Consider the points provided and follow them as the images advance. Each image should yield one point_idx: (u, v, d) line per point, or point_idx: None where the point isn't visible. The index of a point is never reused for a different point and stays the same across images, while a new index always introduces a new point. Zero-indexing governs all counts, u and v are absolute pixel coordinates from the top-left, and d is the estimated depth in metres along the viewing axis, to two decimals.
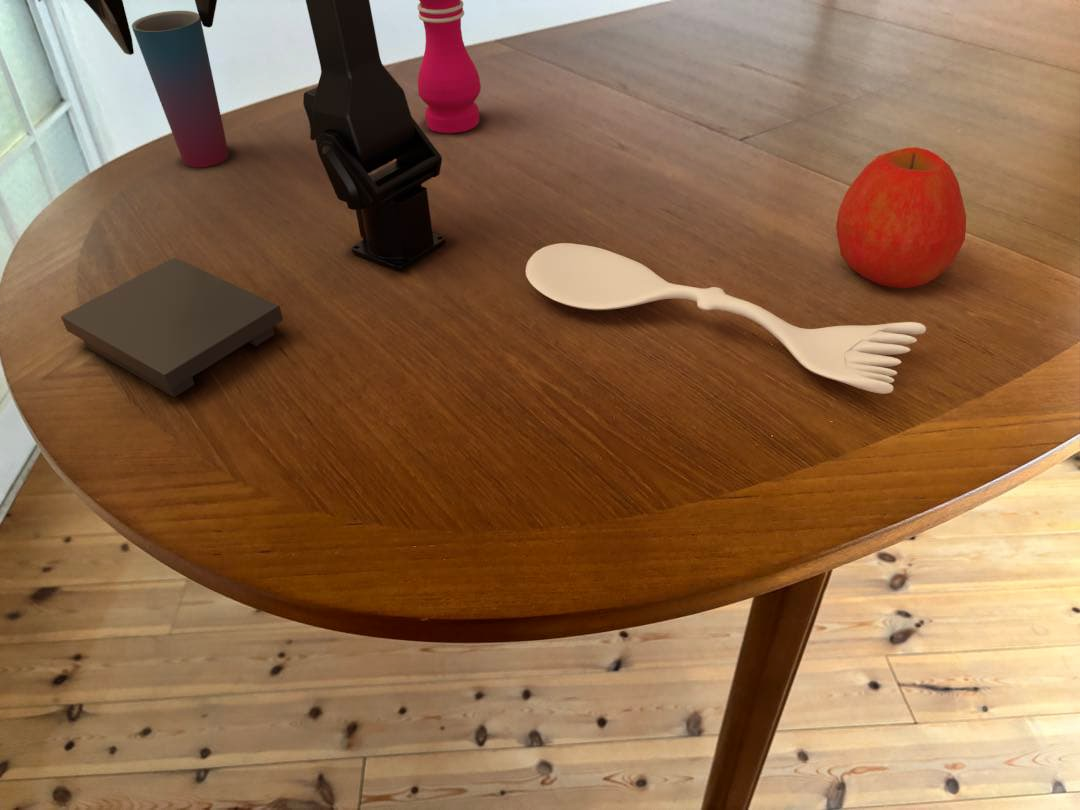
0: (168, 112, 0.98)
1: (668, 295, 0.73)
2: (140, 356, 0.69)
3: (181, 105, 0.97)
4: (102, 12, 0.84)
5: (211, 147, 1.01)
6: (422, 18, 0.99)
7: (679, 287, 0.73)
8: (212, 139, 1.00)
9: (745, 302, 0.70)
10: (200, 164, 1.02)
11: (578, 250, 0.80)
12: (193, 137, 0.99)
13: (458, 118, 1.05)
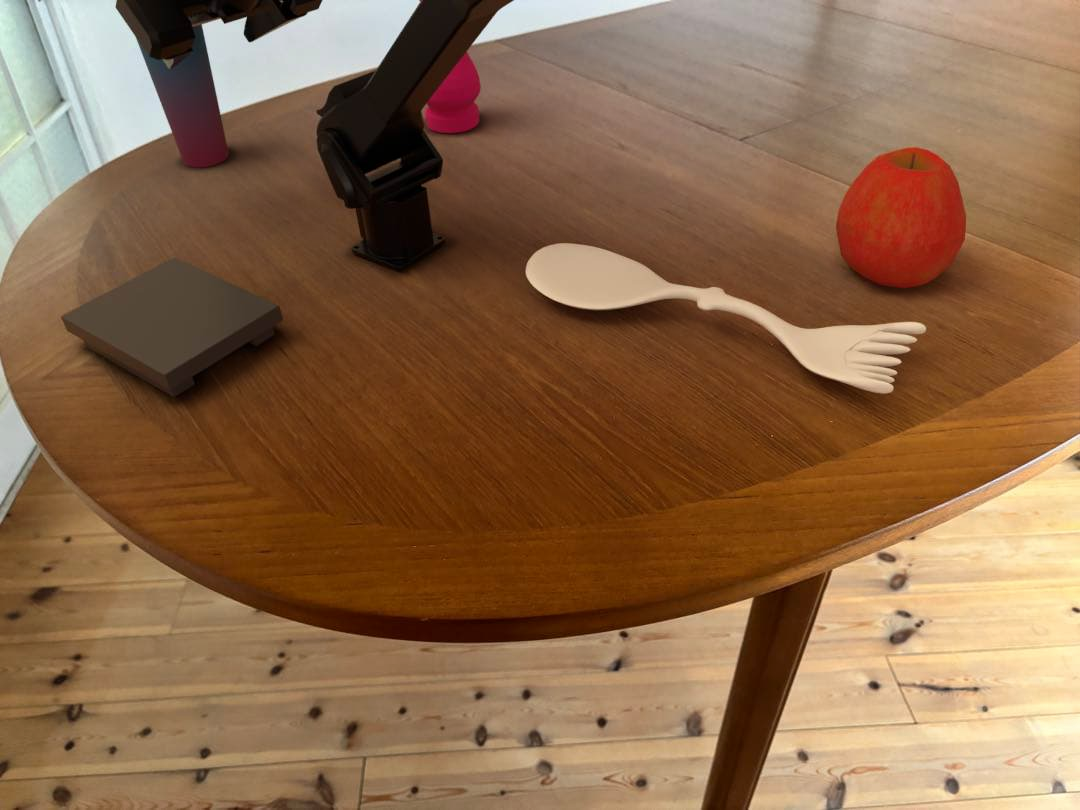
0: (168, 112, 0.98)
1: (668, 295, 0.73)
2: (140, 356, 0.69)
3: (181, 105, 0.97)
4: None
5: (211, 147, 1.01)
6: None
7: (679, 287, 0.73)
8: (212, 139, 1.00)
9: (745, 302, 0.70)
10: (200, 164, 1.02)
11: (578, 250, 0.80)
12: (193, 137, 0.99)
13: (458, 118, 1.05)
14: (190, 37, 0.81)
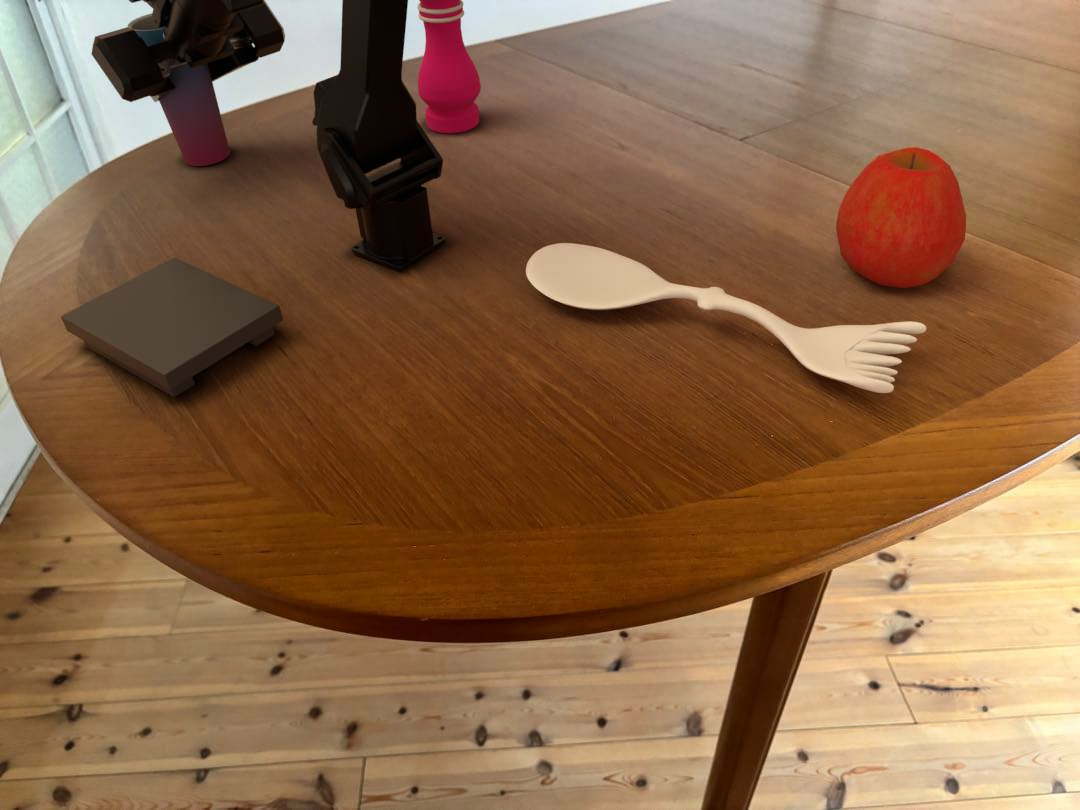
0: (167, 111, 0.98)
1: (668, 295, 0.73)
2: (140, 356, 0.69)
3: (180, 104, 0.97)
4: None
5: (211, 145, 1.01)
6: (422, 18, 0.99)
7: (679, 287, 0.73)
8: (212, 137, 1.00)
9: (745, 302, 0.70)
10: (201, 163, 1.02)
11: (578, 250, 0.80)
12: (193, 135, 0.99)
13: (458, 118, 1.05)
14: (159, 81, 0.89)
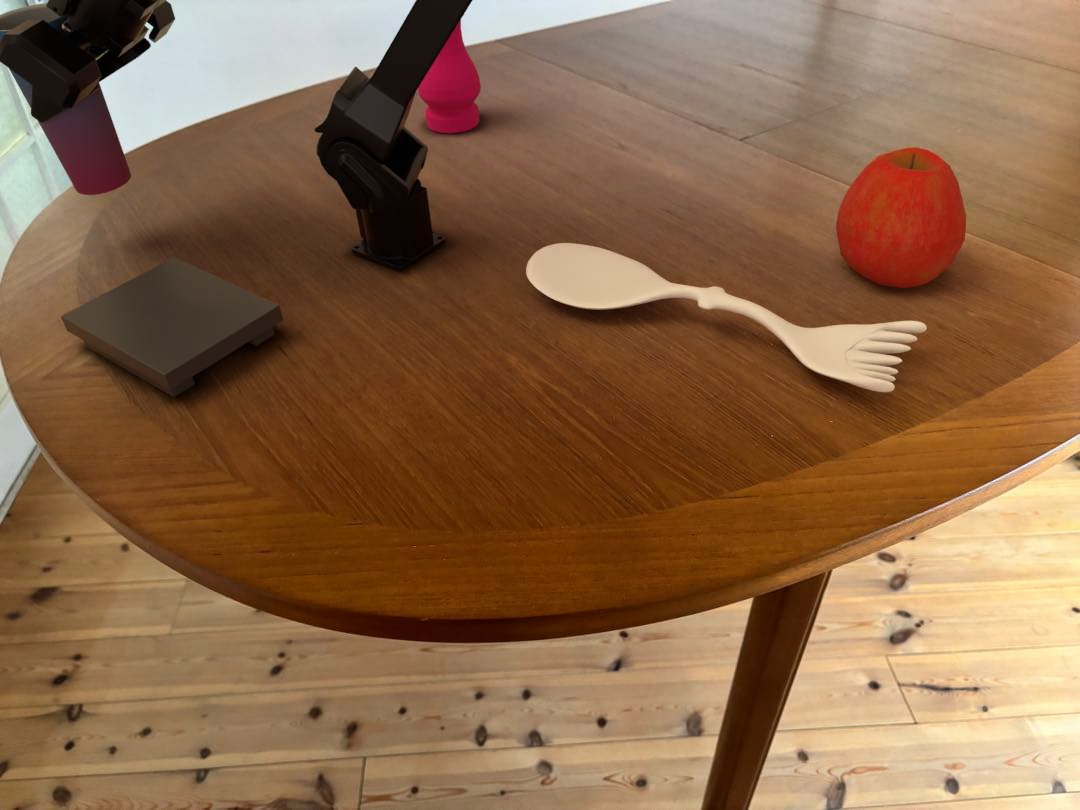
0: (62, 131, 0.79)
1: (669, 294, 0.73)
2: (140, 356, 0.69)
3: (80, 115, 0.79)
4: None
5: (119, 162, 0.83)
6: None
7: (680, 286, 0.73)
8: (117, 152, 0.83)
9: (746, 301, 0.70)
10: (111, 187, 0.83)
11: (578, 250, 0.80)
12: (99, 153, 0.81)
13: (458, 118, 1.05)
14: (97, 76, 0.72)
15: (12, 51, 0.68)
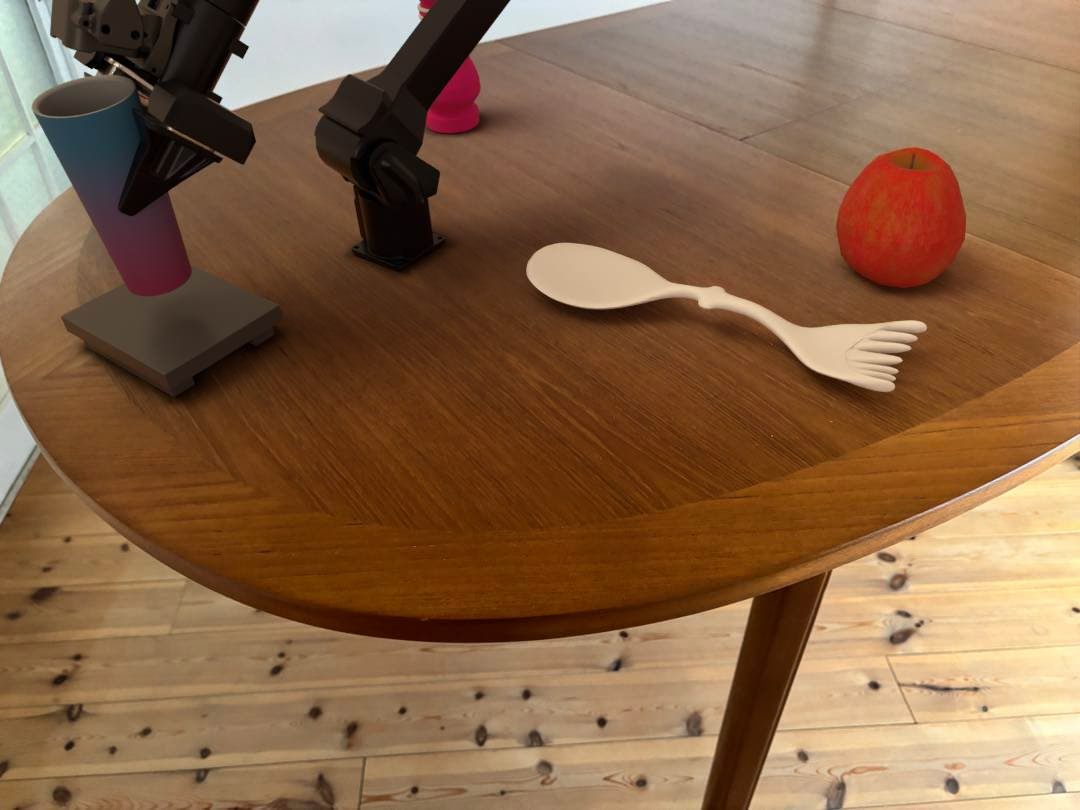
0: (149, 220, 0.67)
1: (669, 294, 0.73)
2: (140, 356, 0.69)
3: (163, 196, 0.67)
4: (154, 166, 0.63)
5: (183, 245, 0.72)
6: (422, 18, 0.99)
7: (680, 286, 0.73)
8: None
9: (746, 301, 0.70)
10: (188, 274, 0.72)
11: (579, 250, 0.80)
12: (178, 237, 0.70)
13: (458, 118, 1.05)
14: None
15: (192, 113, 0.58)
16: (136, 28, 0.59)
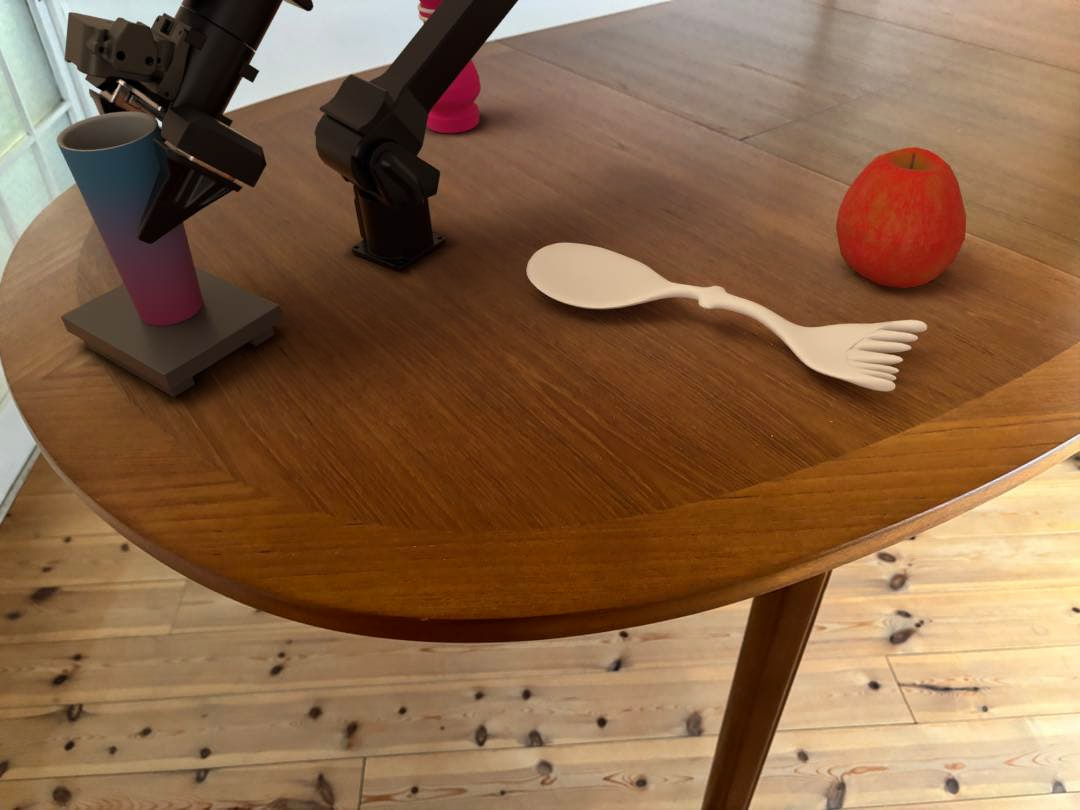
0: (165, 251, 0.69)
1: (669, 294, 0.73)
2: (140, 356, 0.69)
3: (179, 228, 0.69)
4: (174, 195, 0.64)
5: None
6: (422, 18, 0.99)
7: (680, 286, 0.73)
8: None
9: (746, 301, 0.70)
10: (200, 304, 0.74)
11: (579, 249, 0.80)
12: (191, 268, 0.72)
13: (458, 118, 1.05)
14: None
15: (205, 138, 0.60)
16: (150, 54, 0.60)
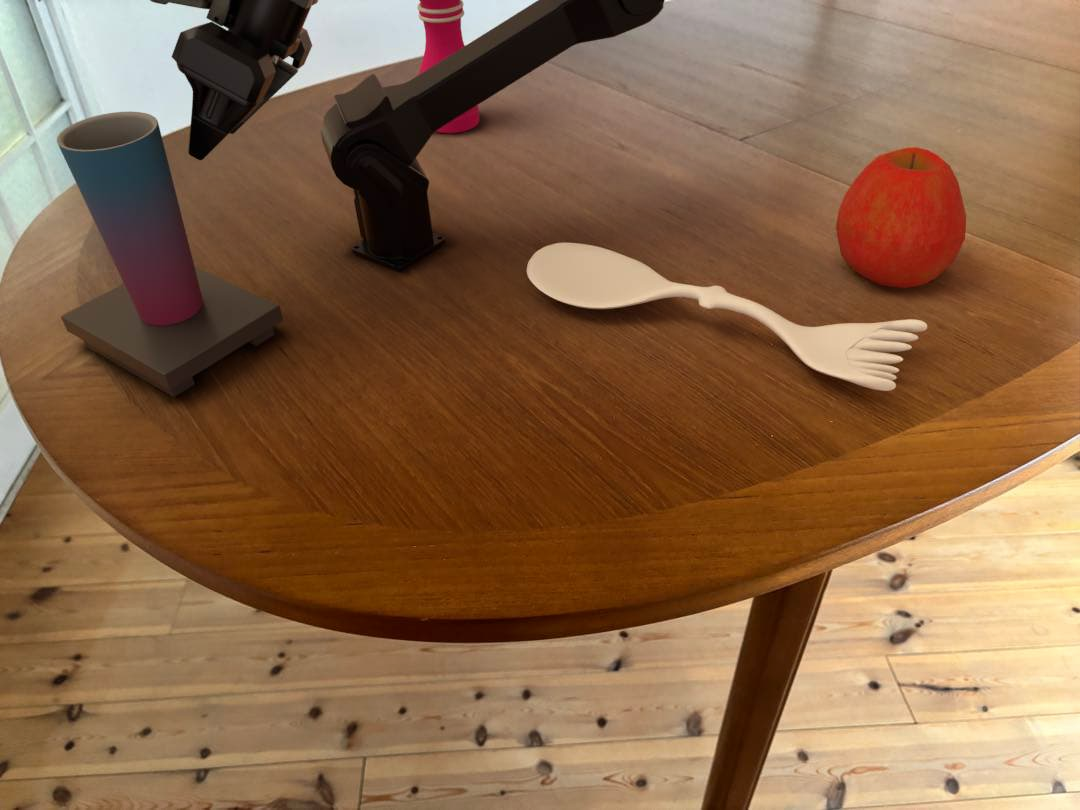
0: (165, 251, 0.69)
1: (670, 294, 0.73)
2: (140, 356, 0.69)
3: (180, 228, 0.69)
4: (207, 111, 0.68)
5: None
6: (422, 18, 0.99)
7: (681, 286, 0.73)
8: None
9: (747, 300, 0.70)
10: (200, 304, 0.74)
11: (579, 249, 0.81)
12: (191, 268, 0.72)
13: (458, 118, 1.05)
14: (273, 70, 0.67)
15: (192, 47, 0.63)
16: None
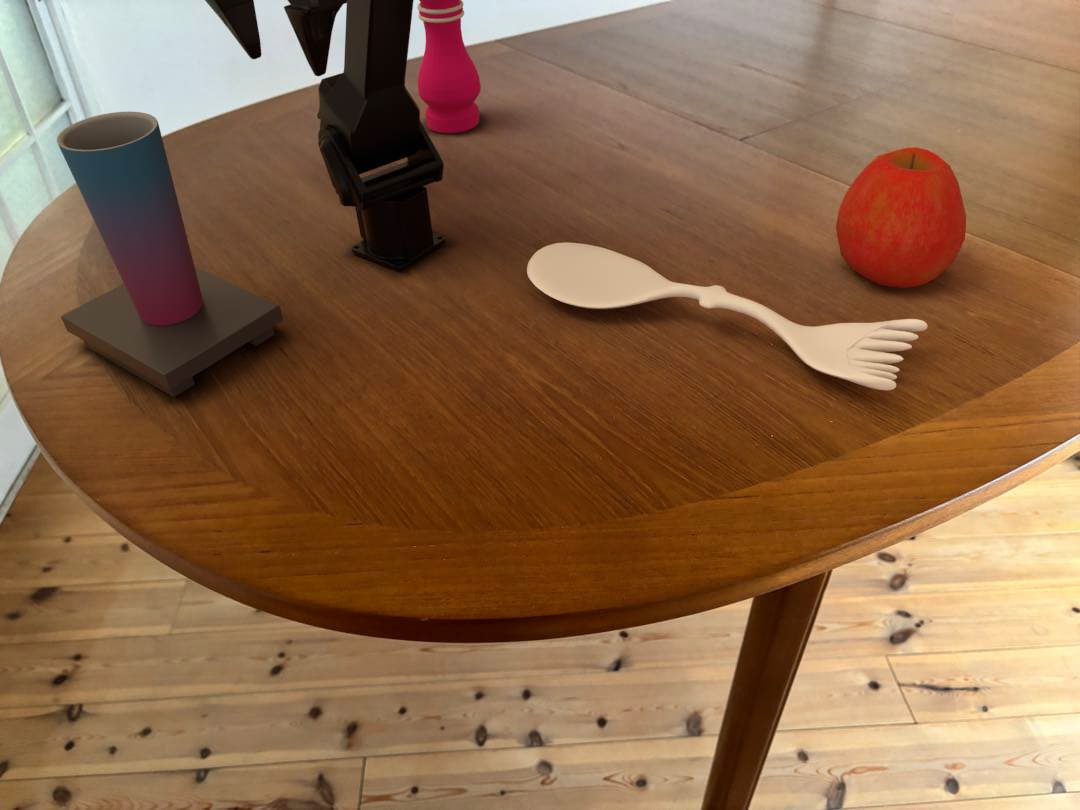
0: (165, 251, 0.69)
1: (670, 294, 0.73)
2: (140, 356, 0.69)
3: (180, 228, 0.69)
4: None
5: None
6: (422, 18, 0.99)
7: (681, 285, 0.73)
8: None
9: (747, 300, 0.70)
10: (200, 304, 0.74)
11: (579, 249, 0.81)
12: (191, 268, 0.72)
13: (458, 118, 1.05)
14: None
15: None
16: None
